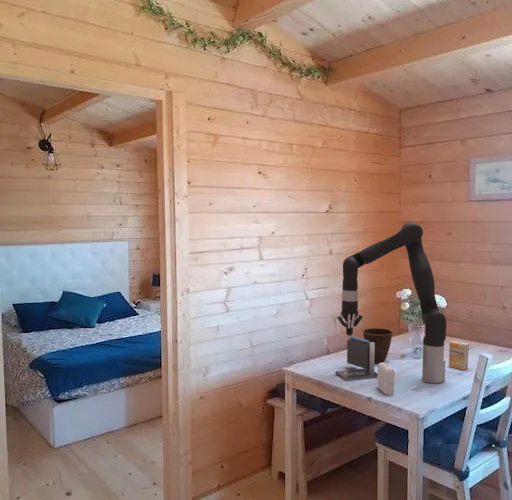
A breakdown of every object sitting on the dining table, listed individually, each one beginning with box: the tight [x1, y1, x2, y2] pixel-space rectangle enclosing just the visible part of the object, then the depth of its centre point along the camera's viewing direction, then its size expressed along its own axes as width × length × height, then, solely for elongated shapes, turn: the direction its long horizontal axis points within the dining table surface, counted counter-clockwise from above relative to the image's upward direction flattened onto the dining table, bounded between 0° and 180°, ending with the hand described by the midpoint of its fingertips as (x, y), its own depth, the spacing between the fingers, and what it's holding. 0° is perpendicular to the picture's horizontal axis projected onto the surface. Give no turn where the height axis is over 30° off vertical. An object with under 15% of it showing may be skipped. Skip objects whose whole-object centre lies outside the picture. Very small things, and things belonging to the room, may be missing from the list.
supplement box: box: [448, 340, 470, 371], centre depth 258 cm, size 8×5×13 cm, turn 45°
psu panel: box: [335, 368, 378, 382], centre depth 246 cm, size 18×11×2 cm, turn 106°
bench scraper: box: [346, 335, 375, 371], centre depth 253 cm, size 15×4×14 cm, turn 38°
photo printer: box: [376, 362, 395, 396], centre depth 225 cm, size 10×4×12 cm, turn 11°
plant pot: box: [362, 327, 393, 364], centre depth 269 cm, size 15×15×16 cm
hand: (349, 335), depth 244 cm, fingers closed
